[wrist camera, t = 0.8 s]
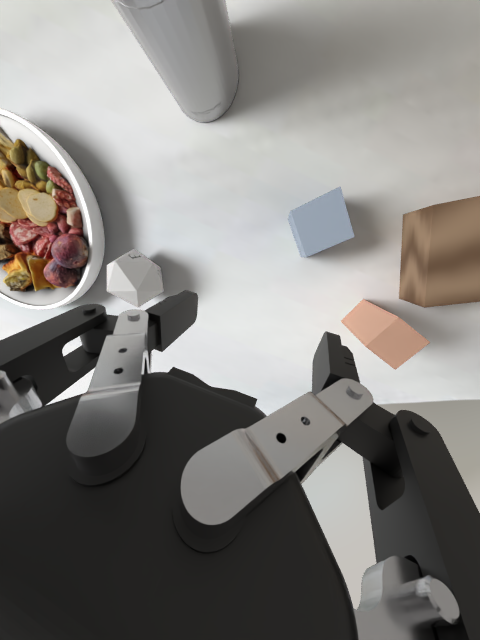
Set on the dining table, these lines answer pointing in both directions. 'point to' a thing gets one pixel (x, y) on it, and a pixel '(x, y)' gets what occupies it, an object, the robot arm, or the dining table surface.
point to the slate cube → (321, 223)
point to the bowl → (44, 220)
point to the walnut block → (441, 254)
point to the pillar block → (384, 333)
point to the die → (134, 278)
